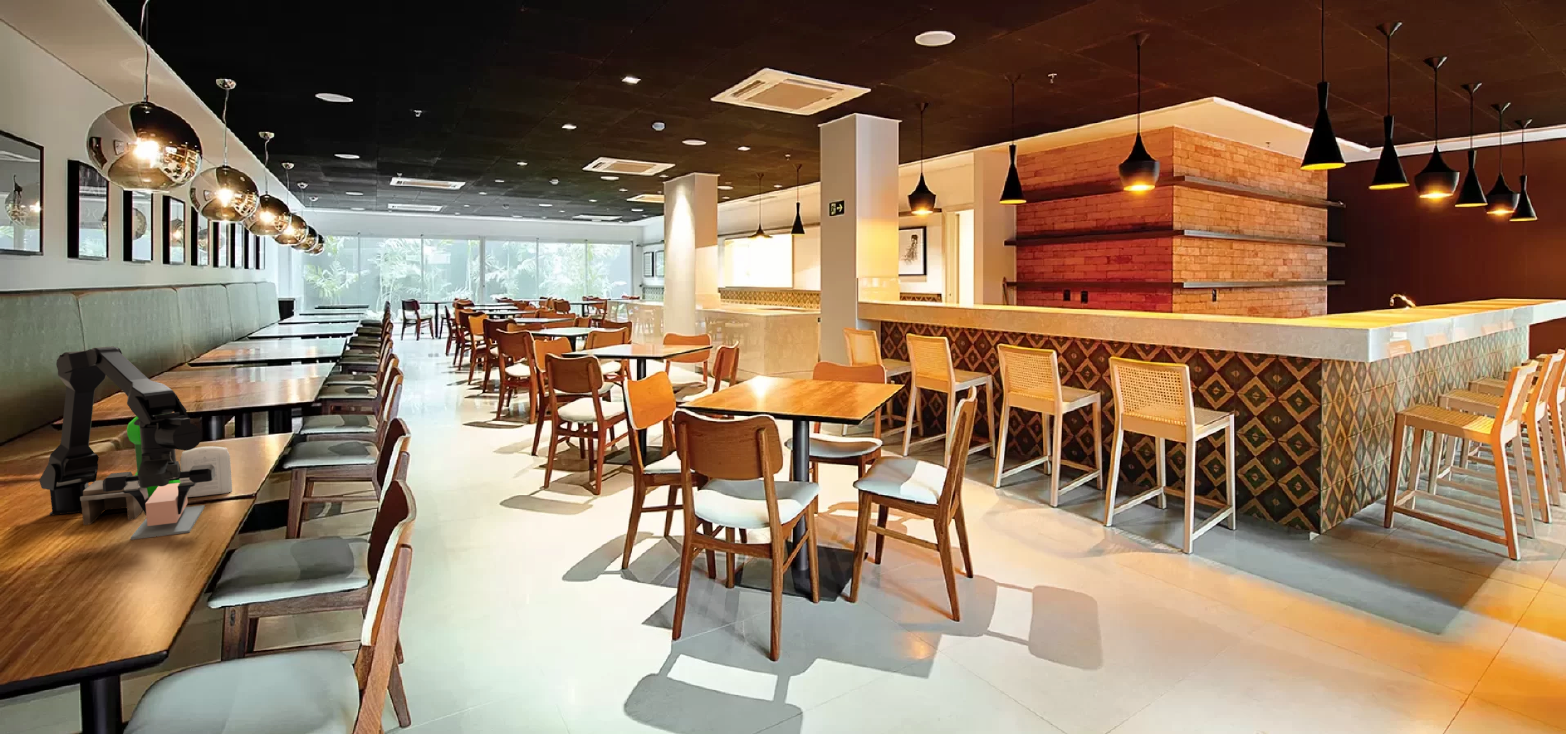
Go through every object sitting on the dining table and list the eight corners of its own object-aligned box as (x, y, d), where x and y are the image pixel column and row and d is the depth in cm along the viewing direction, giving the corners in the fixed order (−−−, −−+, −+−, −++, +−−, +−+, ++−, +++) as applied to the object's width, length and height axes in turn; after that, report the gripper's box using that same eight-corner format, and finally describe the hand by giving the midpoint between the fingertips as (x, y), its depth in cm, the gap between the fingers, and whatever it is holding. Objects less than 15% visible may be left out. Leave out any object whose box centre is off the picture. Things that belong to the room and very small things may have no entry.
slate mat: (130, 539, 165) (130, 537, 165) (152, 512, 183) (152, 510, 183) (189, 532, 169) (189, 530, 169) (204, 507, 188) (204, 505, 188)
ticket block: (147, 526, 167) (145, 503, 167) (161, 505, 182) (159, 484, 181) (176, 522, 170) (174, 500, 169) (187, 502, 184) (186, 482, 184)
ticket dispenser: (82, 525, 173) (79, 493, 172) (99, 509, 185) (96, 479, 184) (134, 519, 178) (131, 488, 177) (147, 504, 190) (145, 474, 189)
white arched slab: (233, 489, 203) (229, 443, 202) (232, 493, 199) (228, 446, 198) (183, 495, 197) (179, 447, 196) (182, 499, 194) (177, 450, 192)
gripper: (91, 458, 158) (99, 532, 160) (205, 449, 167) (210, 519, 169) (106, 447, 168) (113, 517, 170) (212, 439, 177) (218, 506, 179)
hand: (164, 515), depth 171 cm, fingers closed on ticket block, 5 cm apart
